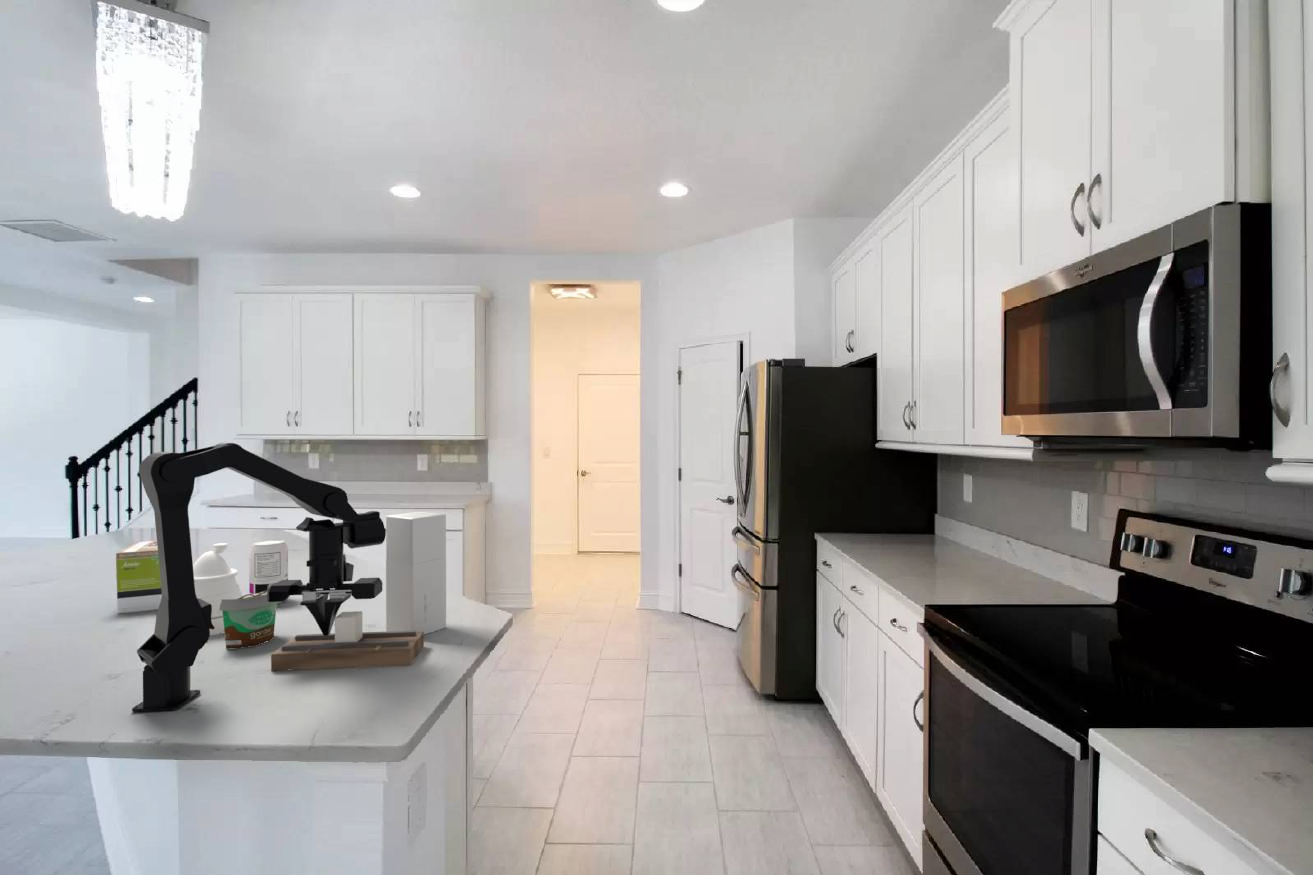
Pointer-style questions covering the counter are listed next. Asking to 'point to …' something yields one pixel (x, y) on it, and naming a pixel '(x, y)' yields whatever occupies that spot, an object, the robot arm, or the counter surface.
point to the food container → (248, 620)
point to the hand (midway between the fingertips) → (326, 634)
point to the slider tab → (348, 627)
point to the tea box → (138, 578)
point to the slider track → (348, 651)
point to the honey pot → (215, 583)
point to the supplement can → (267, 564)
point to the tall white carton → (416, 572)
